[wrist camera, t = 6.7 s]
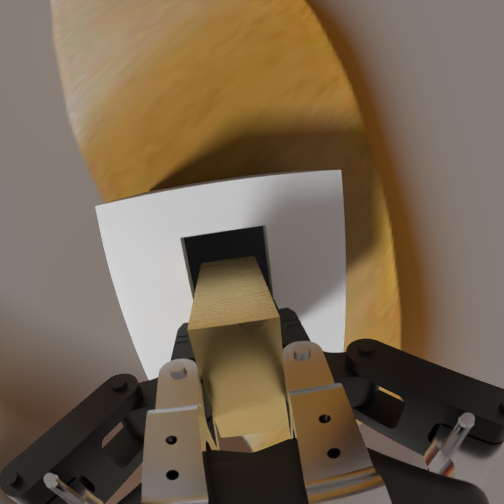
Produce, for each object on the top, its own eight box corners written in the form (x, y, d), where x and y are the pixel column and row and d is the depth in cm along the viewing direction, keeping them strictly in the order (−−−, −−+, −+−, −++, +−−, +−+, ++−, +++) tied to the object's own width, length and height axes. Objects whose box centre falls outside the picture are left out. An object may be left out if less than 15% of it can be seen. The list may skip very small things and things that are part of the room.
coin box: (146, 192, 21) (95, 206, 12) (290, 170, 22) (340, 169, 12) (174, 321, 25) (156, 396, 15) (301, 302, 25) (341, 368, 16)
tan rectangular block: (201, 263, 13) (187, 330, 7) (254, 255, 13) (279, 316, 7) (219, 350, 14) (221, 437, 8) (265, 343, 14) (288, 427, 9)
